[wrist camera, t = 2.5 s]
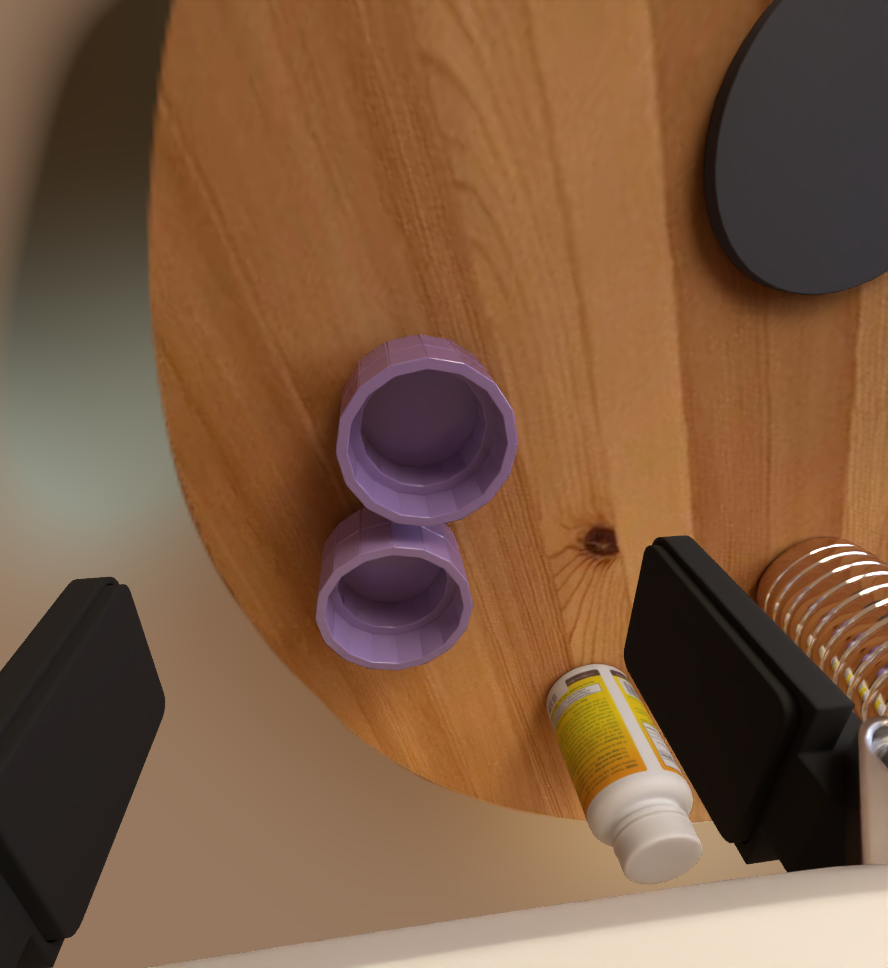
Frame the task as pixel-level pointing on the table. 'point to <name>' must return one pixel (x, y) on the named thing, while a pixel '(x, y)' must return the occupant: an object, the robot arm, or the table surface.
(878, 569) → the water bottle
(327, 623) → the dish
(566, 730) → the supplement bottle
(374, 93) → the table surface
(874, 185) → the coaster
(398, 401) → the dish
